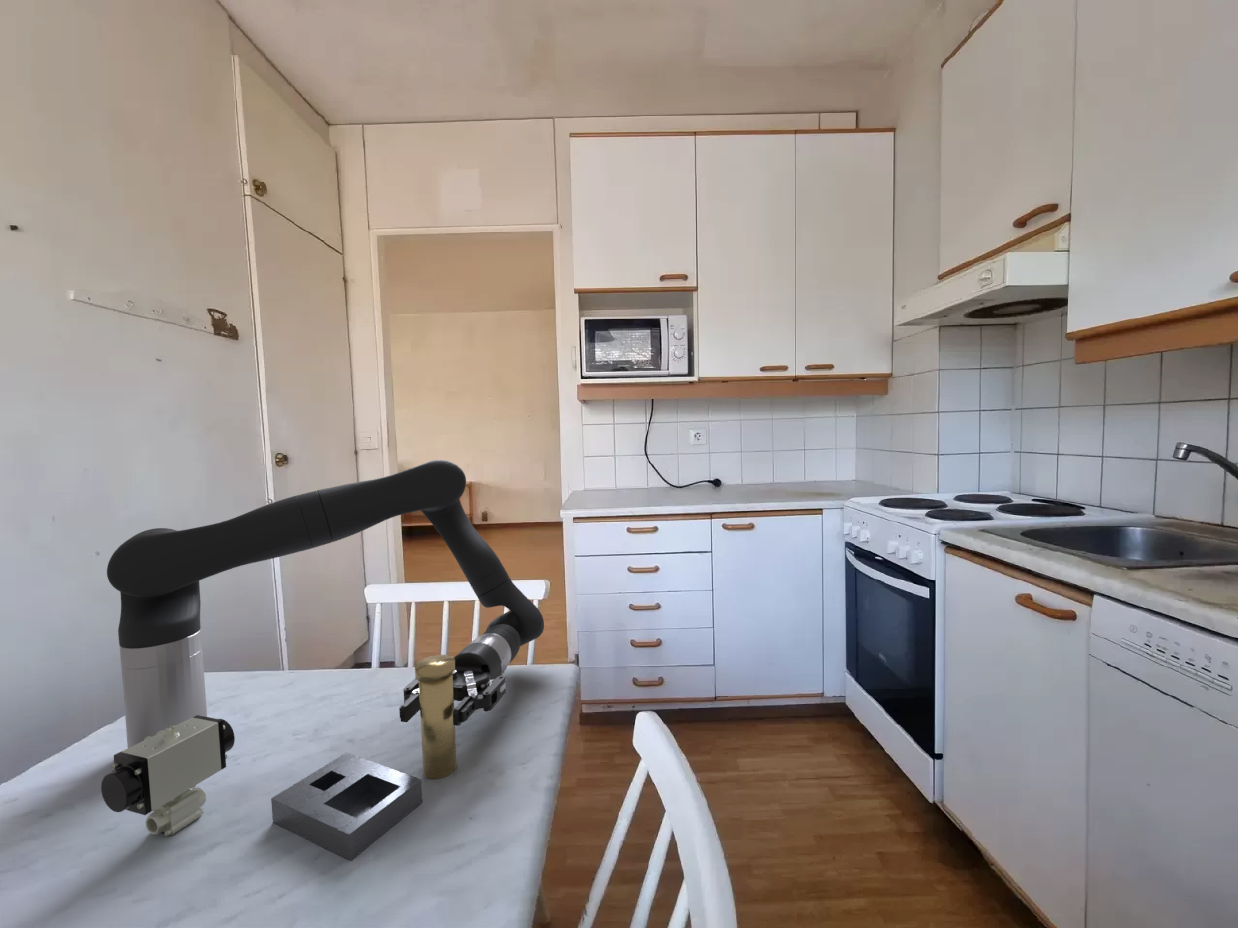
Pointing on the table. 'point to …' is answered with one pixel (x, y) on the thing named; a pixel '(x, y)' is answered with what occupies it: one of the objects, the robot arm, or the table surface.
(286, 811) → the plate
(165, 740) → the pneumatic valve
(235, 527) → the robot arm
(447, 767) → the brass headed pin
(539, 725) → the table surface
